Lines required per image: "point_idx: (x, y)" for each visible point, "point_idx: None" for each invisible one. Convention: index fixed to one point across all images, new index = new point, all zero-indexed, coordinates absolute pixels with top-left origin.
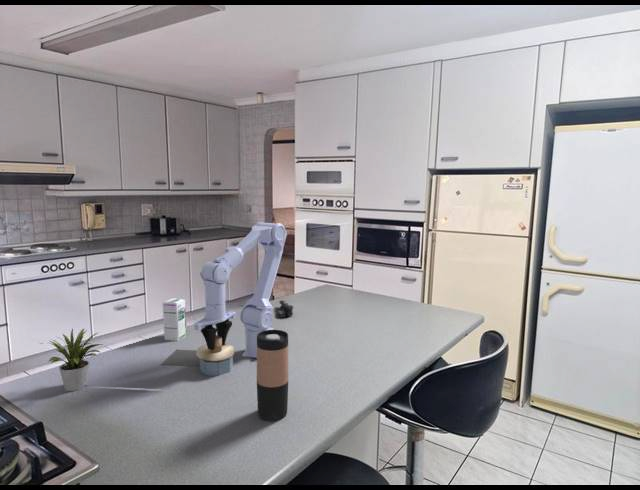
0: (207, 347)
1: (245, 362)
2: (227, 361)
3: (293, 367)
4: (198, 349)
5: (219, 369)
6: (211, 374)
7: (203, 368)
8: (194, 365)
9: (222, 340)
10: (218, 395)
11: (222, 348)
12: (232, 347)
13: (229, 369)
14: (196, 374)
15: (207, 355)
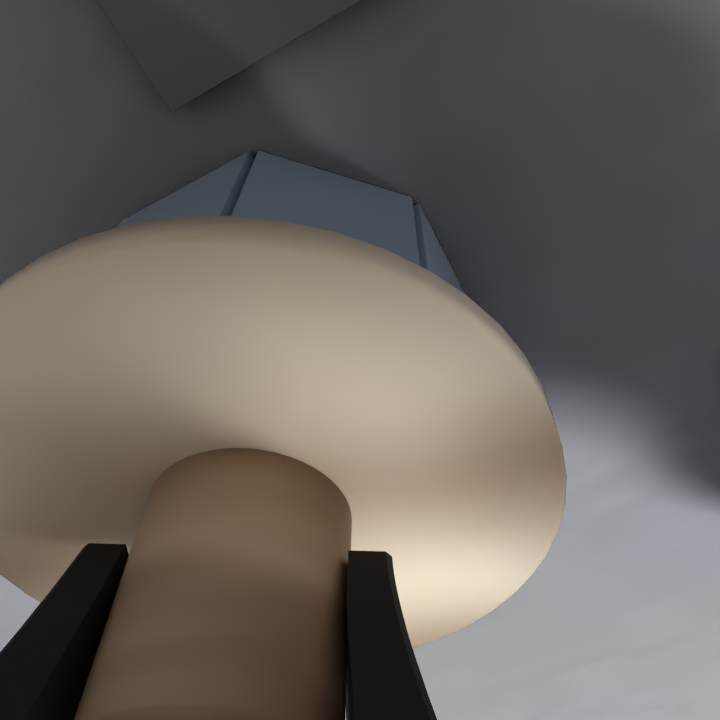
0: (218, 377)
1: (615, 432)
2: None
3: (664, 698)
4: (19, 319)
5: None
6: None
7: None
8: (143, 30)
9: (346, 706)
10: (16, 593)
11: (375, 539)
12: (493, 597)
13: None
14: (57, 223)
15: (40, 543)
